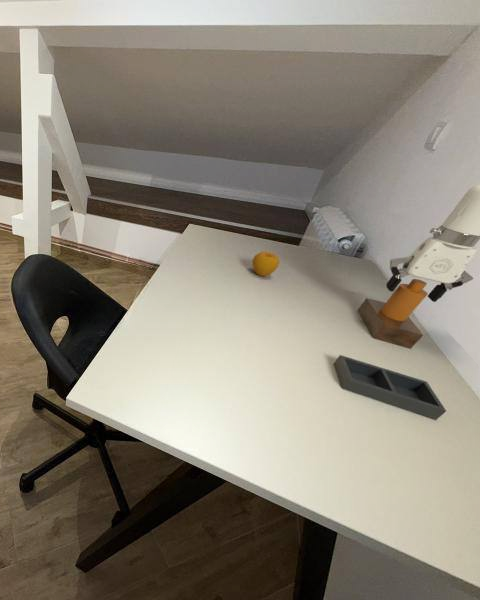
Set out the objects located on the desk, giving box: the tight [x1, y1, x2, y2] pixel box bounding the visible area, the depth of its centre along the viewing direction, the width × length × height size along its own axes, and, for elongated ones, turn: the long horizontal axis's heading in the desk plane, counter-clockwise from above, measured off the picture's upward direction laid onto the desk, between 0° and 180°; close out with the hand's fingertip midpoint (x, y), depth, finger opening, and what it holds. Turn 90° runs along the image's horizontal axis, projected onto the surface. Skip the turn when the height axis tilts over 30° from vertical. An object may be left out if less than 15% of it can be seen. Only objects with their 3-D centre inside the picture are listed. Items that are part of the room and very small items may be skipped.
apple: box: [251, 251, 280, 278], centre depth 115 cm, size 9×8×9 cm
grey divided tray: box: [333, 354, 447, 421], centre depth 71 cm, size 9×17×4 cm, turn 66°
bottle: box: [380, 278, 429, 321], centre depth 89 cm, size 6×6×12 cm
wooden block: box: [357, 297, 424, 349], centre depth 93 cm, size 9×16×5 cm, turn 156°
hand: (409, 294), depth 88 cm, fingers open, 9 cm apart
